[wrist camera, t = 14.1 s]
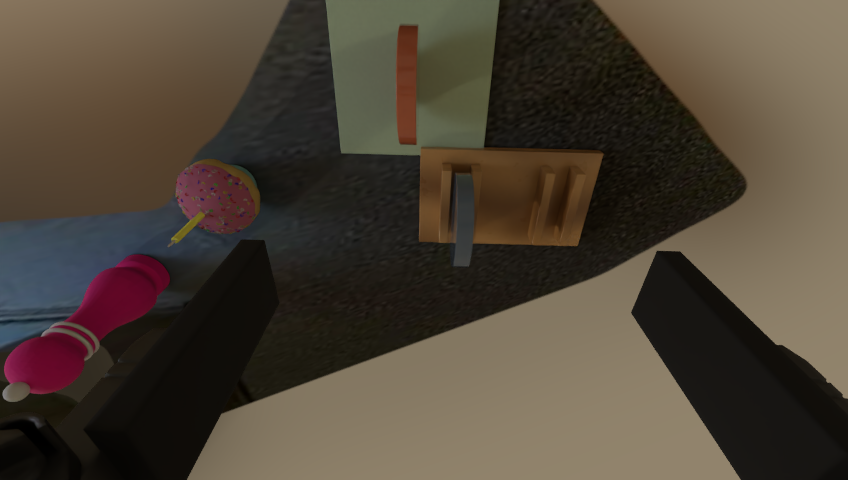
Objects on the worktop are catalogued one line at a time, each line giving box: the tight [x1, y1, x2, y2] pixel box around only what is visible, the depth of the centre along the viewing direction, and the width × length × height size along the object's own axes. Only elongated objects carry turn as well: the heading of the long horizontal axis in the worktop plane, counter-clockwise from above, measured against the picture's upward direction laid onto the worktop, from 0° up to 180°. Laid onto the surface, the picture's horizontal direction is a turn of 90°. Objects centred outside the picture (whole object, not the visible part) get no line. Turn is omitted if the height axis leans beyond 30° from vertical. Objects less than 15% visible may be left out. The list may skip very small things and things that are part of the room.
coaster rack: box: [419, 147, 603, 246], centre depth 43 cm, size 12×20×4 cm, turn 89°
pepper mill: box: [3, 255, 170, 402], centre depth 43 cm, size 7×7×20 cm
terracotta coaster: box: [396, 23, 420, 145], centre depth 33 cm, size 10×2×10 cm, turn 179°
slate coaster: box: [450, 172, 474, 268], centre depth 40 cm, size 10×2×10 cm, turn 179°
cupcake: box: [168, 159, 260, 247], centre depth 39 cm, size 9×8×12 cm
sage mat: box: [326, 0, 499, 155], centre depth 38 cm, size 16×16×1 cm
